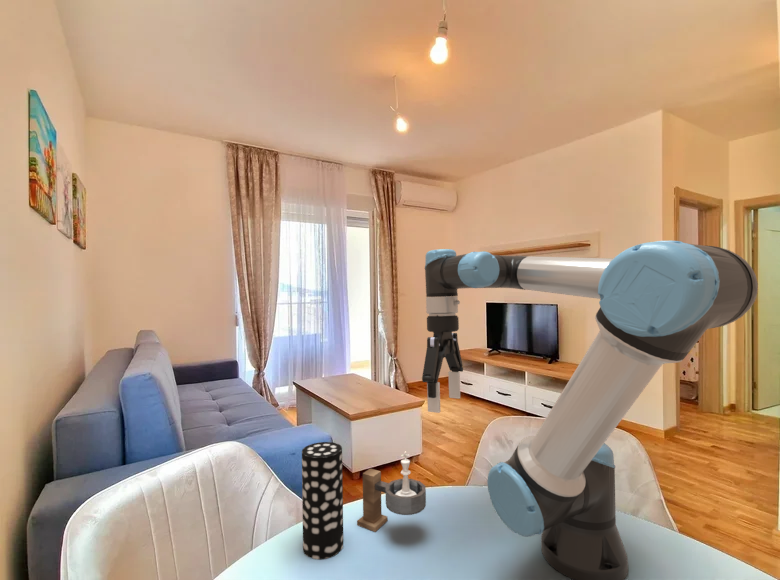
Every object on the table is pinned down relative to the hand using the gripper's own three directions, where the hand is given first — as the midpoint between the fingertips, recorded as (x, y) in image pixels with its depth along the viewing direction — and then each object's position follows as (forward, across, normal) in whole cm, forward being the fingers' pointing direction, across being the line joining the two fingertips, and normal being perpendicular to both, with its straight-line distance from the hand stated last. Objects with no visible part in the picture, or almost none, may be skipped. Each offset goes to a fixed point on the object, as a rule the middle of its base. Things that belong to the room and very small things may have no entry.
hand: (445, 404), depth 92 cm
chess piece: (+18, -11, +5) cm, 22 cm away
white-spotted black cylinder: (+26, -22, +19) cm, 39 cm away
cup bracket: (+19, -11, +8) cm, 23 cm away
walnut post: (+26, -11, +14) cm, 31 cm away
